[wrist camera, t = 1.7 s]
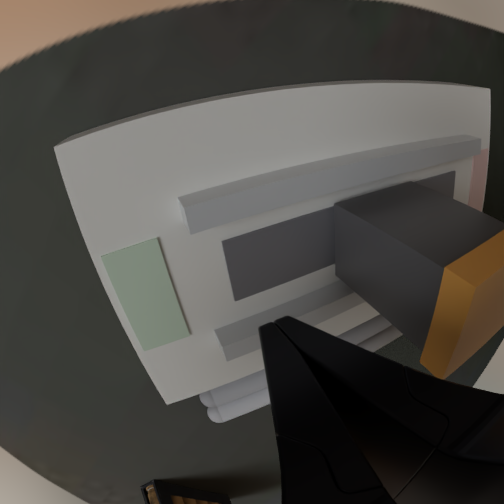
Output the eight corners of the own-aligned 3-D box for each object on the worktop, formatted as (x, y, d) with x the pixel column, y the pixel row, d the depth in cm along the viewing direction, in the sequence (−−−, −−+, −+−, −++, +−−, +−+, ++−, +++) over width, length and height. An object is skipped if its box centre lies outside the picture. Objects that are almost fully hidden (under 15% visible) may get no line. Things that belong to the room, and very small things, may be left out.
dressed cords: (425, 278, 21) (438, 288, 20) (418, 311, 23) (430, 320, 22) (193, 384, 17) (200, 402, 16) (207, 412, 18) (214, 429, 17)
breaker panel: (449, 82, 15) (504, 91, 12) (441, 240, 20) (483, 265, 17) (69, 136, 10) (46, 152, 6) (155, 359, 15) (171, 422, 12)
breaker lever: (413, 175, 12) (539, 233, 7) (408, 246, 14) (511, 316, 9) (328, 199, 11) (476, 287, 6) (331, 280, 12) (440, 381, 8)
